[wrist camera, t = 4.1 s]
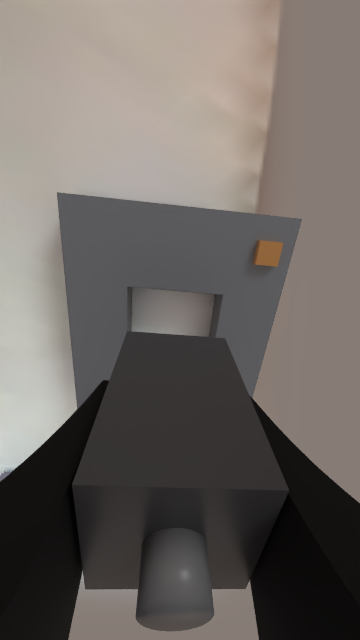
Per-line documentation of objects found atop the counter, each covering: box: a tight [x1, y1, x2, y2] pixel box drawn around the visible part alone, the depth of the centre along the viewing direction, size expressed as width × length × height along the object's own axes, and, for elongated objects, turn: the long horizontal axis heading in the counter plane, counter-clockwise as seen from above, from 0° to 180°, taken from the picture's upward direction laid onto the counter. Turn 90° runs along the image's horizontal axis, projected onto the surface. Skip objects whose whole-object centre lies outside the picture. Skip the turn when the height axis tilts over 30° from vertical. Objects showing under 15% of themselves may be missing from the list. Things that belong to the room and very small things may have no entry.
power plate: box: [57, 193, 302, 409], centre depth 16 cm, size 14×12×2 cm
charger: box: [72, 331, 289, 631], centre depth 8 cm, size 4×4×7 cm
